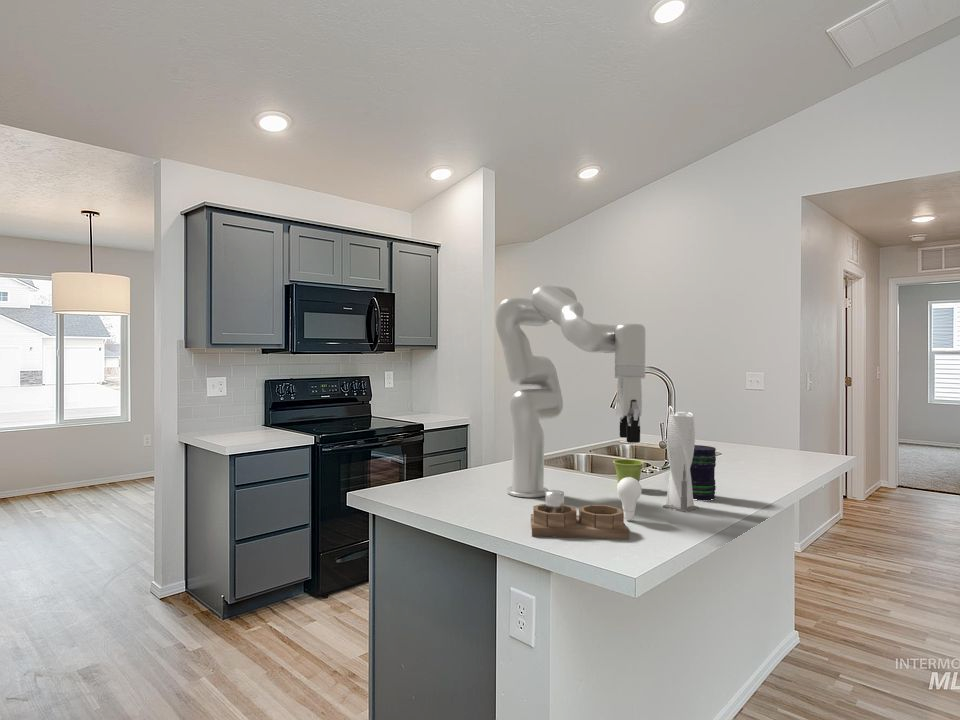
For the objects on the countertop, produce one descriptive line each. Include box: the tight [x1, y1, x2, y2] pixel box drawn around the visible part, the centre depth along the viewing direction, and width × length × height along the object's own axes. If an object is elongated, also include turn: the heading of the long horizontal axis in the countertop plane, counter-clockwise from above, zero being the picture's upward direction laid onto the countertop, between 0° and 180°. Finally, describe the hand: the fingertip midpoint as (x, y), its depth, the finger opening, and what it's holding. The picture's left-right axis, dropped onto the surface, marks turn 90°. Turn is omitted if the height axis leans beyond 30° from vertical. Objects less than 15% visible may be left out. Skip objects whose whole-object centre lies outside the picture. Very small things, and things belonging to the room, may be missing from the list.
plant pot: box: [612, 458, 645, 484], centre depth 187 cm, size 9×9×9 cm
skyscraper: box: [662, 405, 700, 513], centre depth 165 cm, size 8×8×28 cm
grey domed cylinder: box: [544, 489, 565, 513], centre depth 141 cm, size 4×4×7 cm
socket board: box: [530, 503, 630, 540], centre depth 141 cm, size 12×22×5 cm, turn 87°
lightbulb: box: [616, 477, 643, 522], centre depth 150 cm, size 6×6×11 cm
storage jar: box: [690, 444, 717, 501], centre depth 177 cm, size 10×10×15 cm
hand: (629, 439), depth 150 cm, fingers open, 9 cm apart
